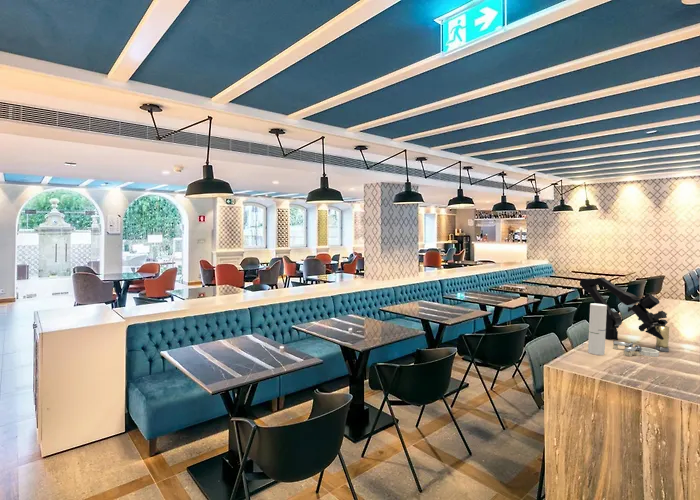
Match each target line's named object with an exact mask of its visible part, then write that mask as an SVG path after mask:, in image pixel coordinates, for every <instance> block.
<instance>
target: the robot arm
mask: <svg viewBox="0 0 700 500" xmlns="http://www.w3.org/2000/svg"><path fill="white" fill-rule="evenodd" d="M598 285H599V286H601V287H603V288H604V289H605V290H607V291H609V292H610V293H612V294H613V295H614V296H616V298H618V300H619V301H620V302H621V303H622V304H624V305H625V306H628V307H627V312H628V313H630V312H631V313H632V312H633V313H634V314H635V315H636V316H637V320H638V321H641V322H642V324H640V325H639V326H638V330H639V331H640V332H644V333H648V334H650V335H652V336H654V337H656V338H659V339H661V340H663V339H664V338H663V337H662V335H661V334H660V332H659V331H658V330H657V325H662V326H667V324H668V323H669V322H668V321H667V320H666V319H667V318H668V317H667V316H668V313H667V312H665V311H664V310H660V311H657V312H656V313H653V312H649V310H651V309H653V308H655V307H656V306H658V305H659V304H660V302H661V301H660V300H659V298H657V297H655V296H654V295H652V294H651V293H646V294H645V295H644V296H643V297H642V298H641V297H638V296H637V295H635V294H633V293H631V292H628V291H625V290H623V289H621V288H620V287H619V286H616V284H614V283H612V282H610V281H609V280H607V279H606V278H605V277H597V278H590V277H589V278H582V279H580V281H579V286H580V287H581V288H582V289H583V290H584V291H586V292H587V293H588V294H589V295H590V296H591V298H592V299H593V301H594V303H597V304H604V305H607V314H606V334H605V340H613V341H618V340H619V339H618V337H619V331H618V329H619V327H620V326H621V325H622V324H623V317H622V316H621V315H620V313H619V312H618V311H613V310H612V309H611V308H610V306H609V304H608V303H607V301H606V300H605V298H604V296H602V294H601V293H600V291H599V290H598Z"/></svg>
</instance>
